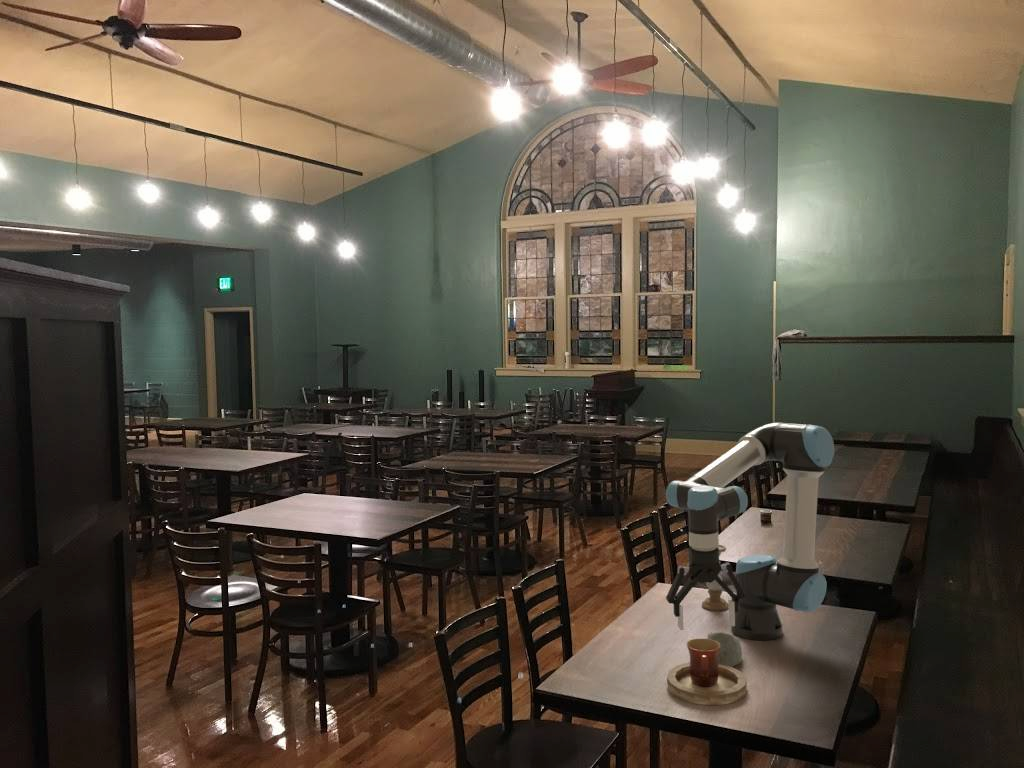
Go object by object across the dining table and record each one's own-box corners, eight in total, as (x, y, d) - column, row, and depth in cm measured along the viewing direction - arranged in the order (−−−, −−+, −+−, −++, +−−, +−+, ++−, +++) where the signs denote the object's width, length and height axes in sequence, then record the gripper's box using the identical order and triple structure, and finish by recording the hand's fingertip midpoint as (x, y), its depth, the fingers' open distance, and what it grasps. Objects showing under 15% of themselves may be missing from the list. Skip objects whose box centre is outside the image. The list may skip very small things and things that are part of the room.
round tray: (732, 669, 230) (731, 659, 230) (757, 702, 211) (757, 692, 210) (660, 673, 229) (659, 664, 229) (678, 707, 210) (678, 696, 209)
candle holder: (702, 611, 276) (701, 550, 275) (701, 601, 285) (699, 543, 283) (730, 611, 275) (729, 550, 273) (727, 602, 283) (726, 543, 282)
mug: (687, 674, 227) (686, 637, 226) (720, 675, 225) (720, 638, 224) (687, 694, 215) (686, 655, 214) (722, 696, 213) (722, 656, 212)
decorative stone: (731, 675, 227) (748, 641, 229) (695, 654, 232) (711, 621, 234) (735, 680, 238) (751, 648, 240) (700, 660, 243) (716, 629, 245)
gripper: (746, 539, 221) (748, 617, 223) (653, 545, 220) (655, 624, 222) (756, 547, 214) (758, 628, 216) (659, 554, 213) (662, 635, 215)
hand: (706, 626), depth 219 cm, fingers open, 13 cm apart
